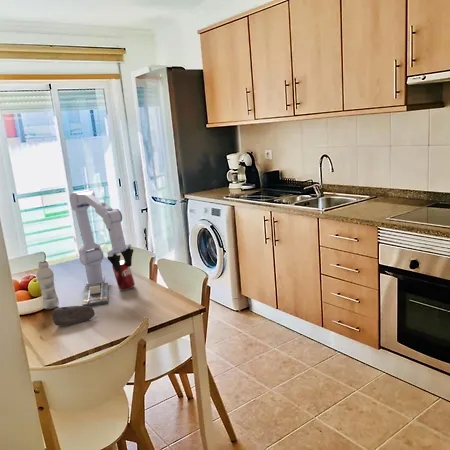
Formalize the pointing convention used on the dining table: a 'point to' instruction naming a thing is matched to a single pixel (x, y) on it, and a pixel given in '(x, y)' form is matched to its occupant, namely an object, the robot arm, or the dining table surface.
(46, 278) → the plastic bottle
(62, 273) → the dining table surface
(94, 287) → the slider tab
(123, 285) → the soda can
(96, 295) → the fader panel
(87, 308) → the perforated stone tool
